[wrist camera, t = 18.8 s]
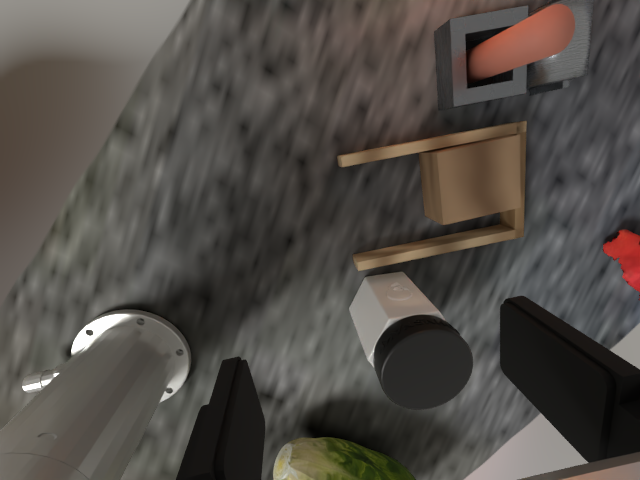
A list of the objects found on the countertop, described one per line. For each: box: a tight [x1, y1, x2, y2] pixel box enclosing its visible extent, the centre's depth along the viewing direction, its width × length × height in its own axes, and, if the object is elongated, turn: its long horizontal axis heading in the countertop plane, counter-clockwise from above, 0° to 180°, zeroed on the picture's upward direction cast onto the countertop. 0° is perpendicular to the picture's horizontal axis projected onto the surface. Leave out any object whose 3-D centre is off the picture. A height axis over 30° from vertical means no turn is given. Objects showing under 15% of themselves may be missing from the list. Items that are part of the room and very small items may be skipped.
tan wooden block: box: [418, 135, 521, 225], centre depth 31 cm, size 8×7×4 cm
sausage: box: [466, 4, 575, 84], centre depth 25 cm, size 3×3×10 cm
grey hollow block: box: [434, 0, 594, 110], centre depth 28 cm, size 12×7×5 cm, turn 100°
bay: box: [337, 121, 527, 271], centre depth 32 cm, size 18×12×2 cm, turn 100°
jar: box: [349, 272, 473, 410], centre depth 31 cm, size 9×8×12 cm
